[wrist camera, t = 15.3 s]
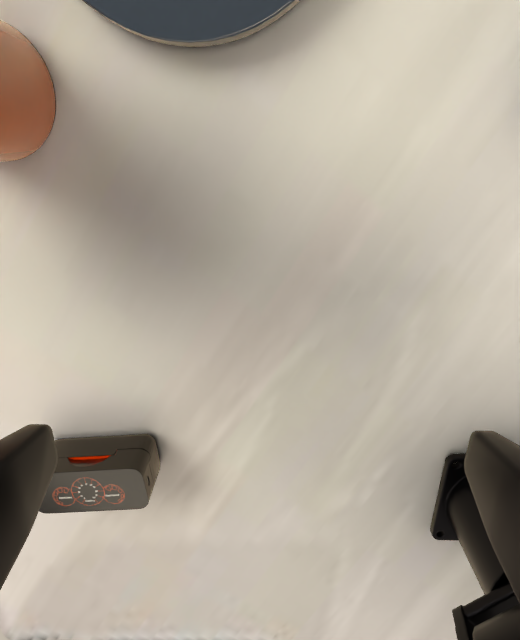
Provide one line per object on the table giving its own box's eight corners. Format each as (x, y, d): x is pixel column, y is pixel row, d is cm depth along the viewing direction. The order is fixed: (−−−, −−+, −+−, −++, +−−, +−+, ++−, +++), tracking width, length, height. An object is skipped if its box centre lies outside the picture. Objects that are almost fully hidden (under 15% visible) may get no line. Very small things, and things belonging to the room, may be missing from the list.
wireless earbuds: (38, 435, 25) (6, 475, 22) (156, 428, 25) (140, 468, 22) (58, 495, 27) (32, 539, 24) (169, 489, 27) (156, 533, 24)
